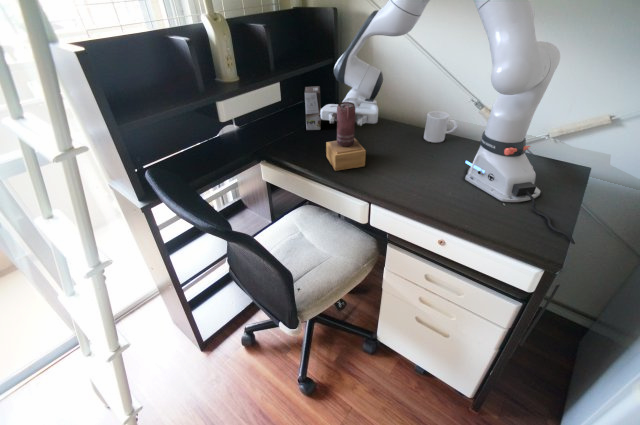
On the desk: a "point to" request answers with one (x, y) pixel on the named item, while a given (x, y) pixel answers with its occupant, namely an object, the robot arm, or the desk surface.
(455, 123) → the mug
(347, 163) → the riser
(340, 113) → the can
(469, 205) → the desk surface
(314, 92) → the coffee box
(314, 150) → the desk surface
